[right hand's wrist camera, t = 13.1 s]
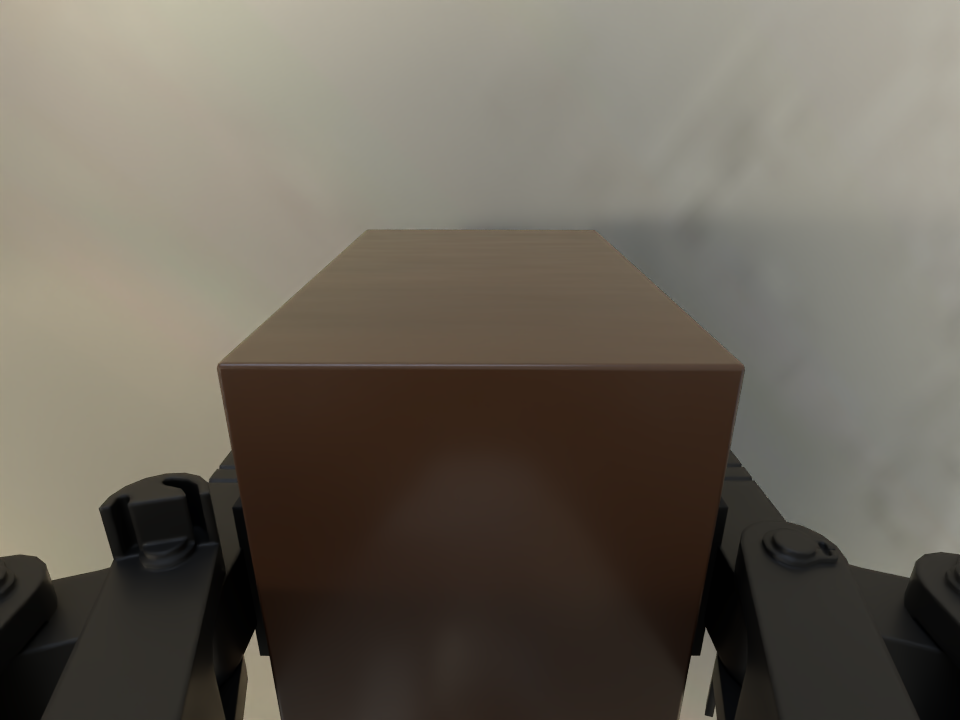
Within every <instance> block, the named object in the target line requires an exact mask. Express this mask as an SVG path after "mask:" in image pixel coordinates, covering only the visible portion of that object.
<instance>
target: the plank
mask: <svg viewBox="0 0 960 720" xmlns="http://www.w3.org/2000/svg"><path fill="white" fill-rule="evenodd" d="M217 371H218V377H219V382H220V388H221V393H222V399H223V404H224V410H225V415H226V421H227V426H228V432H229V437H230V443H231V448H232V454H233V459H234V464H235V470H236V475H237V481H238V486H239V492H240V497H241V503H242V508H243V514H244V519H245V525H246V530H247V536H248V541H249V546H250V552H251V557H252V563H253V568H254V574H255V579H256V585H257V590H258V596H259V601H260V607H261V612H262V618H263V623H264V629H265V634H266V639H267V645H268V650H269V656H270V661H271V667H272V672H273V678H274V683H275V689H276V694H277V700H278V705H279V711H280V716H281V720H679V717H680V711H681V706H682V701H683V695H684V690H685V685H686V679H687V674H688V669H689V664H690V658H691V653H692V648H693V642H694V637H695V632H696V626H697V621H698V616H699V610H700V605H701V600H702V595H703V589H704V584H705V579H706V573H707V568H708V563H709V557H710V552H711V547H712V542H713V536H714V531H715V526H716V520H717V515H718V510H719V504H720V499H721V494H722V488H723V483H724V478H725V473H726V467H727V462H728V457H729V451H730V446H731V441H732V435H733V430H734V425H735V419H736V414H737V409H738V404H739V398H740V393H741V388H742V382H743V377H744V372H745V368H744V365H743V364H742V363H741V362H740V361H739V360H738V359H737V358H735V357H734V356H733V355H732V354H731V353H730V352H729V351H728V350H727V349H726V348H724V347H723V346H722V345H721V344H720V343H719V342H718V341H717V340H716V339H714V338H713V337H712V336H711V335H710V334H709V333H708V332H707V331H706V330H705V329H703V328H702V327H701V326H700V325H699V324H698V323H697V322H696V321H695V320H694V319H692V318H691V317H690V316H689V315H688V314H687V313H686V312H685V311H684V310H683V309H681V308H680V307H679V306H678V305H677V304H676V303H675V302H674V301H673V300H672V299H670V298H669V297H668V296H667V295H666V294H665V293H664V292H663V291H662V290H660V289H659V288H658V287H657V286H656V285H655V284H654V283H653V282H652V281H651V280H649V279H648V278H647V277H646V276H645V275H644V274H643V273H642V272H641V271H640V270H638V269H637V268H636V267H635V266H634V265H633V264H632V263H631V262H630V261H629V260H627V259H626V258H625V257H624V256H623V255H622V254H621V253H620V252H619V251H618V250H616V249H615V248H614V247H613V246H612V245H611V244H610V243H609V242H608V241H607V240H605V239H604V238H603V237H602V236H601V235H600V234H599V233H598V232H597V231H595V230H366V231H365V232H364V233H363V234H362V235H361V236H359V237H358V238H357V239H356V240H355V241H354V242H353V243H352V244H351V245H349V246H348V247H347V248H346V249H345V250H344V251H343V252H342V253H341V254H339V255H338V256H337V257H336V258H335V259H334V260H333V261H332V262H331V263H329V264H328V265H327V266H326V267H325V268H324V269H323V270H322V271H321V272H319V273H318V274H317V275H316V276H315V277H314V278H313V279H312V280H311V281H309V282H308V283H307V284H306V285H305V286H304V287H303V288H302V289H301V290H299V291H298V292H297V293H296V294H295V295H294V296H293V297H292V298H291V299H289V300H288V301H287V302H286V303H285V304H284V305H283V306H282V307H281V308H279V309H278V310H277V311H276V312H275V313H274V314H273V315H272V316H271V317H269V318H268V319H267V320H266V321H265V322H264V323H263V324H262V325H261V326H259V327H258V328H257V329H256V330H255V331H254V332H253V333H252V334H251V335H249V336H248V337H247V338H246V339H245V340H244V341H243V342H242V343H241V344H239V345H238V346H237V347H236V348H235V349H234V350H233V351H232V352H231V353H229V354H228V355H227V356H226V357H225V358H224V359H223V360H222V361H221V362H219V363H218V366H217Z"/></svg>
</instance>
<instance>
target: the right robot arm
mask: <svg viewBox="0 0 960 720" xmlns="http://www.w3.org/2000/svg"><path fill="white" fill-rule="evenodd" d="M99 511H100V514H101V517H102V521H103V524H104V528H105V531H106V534H107V538H108V541H109V544H110V548H111V551H112V555H113V558H114V560H113V563H112V565H111V567H110V568H106V569H103V570H99V571H94V572H90V573H85V574H80V575H75V576H71V577H66V578H61V579H56V580H52V581H51V578H50V575H49V572H48V569H47V567H46V564H45V563H44V562H43V561H41V560H40V559H39V558H37V557H34V556H27V555H14V556H6V557H0V720H243V715H244V707H245V698H246V689H247V681H248V677H247V670H246V664H245V659H244V653H245V650H246V648H247V646H248V644H249V642H250V639H251V637H252V635H253V633H254V630H256V635H257V641H258V646H259V651H260V656H269V650H268V645H267V639H266V634H265V629H264V623H263V618H262V612H261V607H260V601H259V596H258V590H257V585H256V579H255V574H254V568H253V563H252V557H251V552H250V546H249V541H248V536H247V530H246V525H245V519H244V514H243V508H242V503H241V497H240V492H239V486H238V481H237V475H236V470H235V464H234V459H233V454H232V451H231V452H230V453H229V454H228V456H227V457H226V458H225V460H224V461H223V462H222V463H221V465H220V468H219V469H217V470H216V471H215V473H214V474H213V475H212V476H211V478H210V479H209V483H208V482H206V481H205V480H204V479H203V478H201V477H200V476H197V475H192V474H188V473H170V474H162V475H158V476H153V477H149V478H145V479H143V480H140V481H138V482H135V483H132V484H130V485H127V486H125V487H124V488H122V489H121V490H119V491H117V492H116V493H114V494H113V495H111V496H110V497H109V498H108V499H107V500H106V501H105V502H104V503H103V504H102V505H101V507H100V508H99ZM705 627H706V629H707V631H708V633H709V635H710V637H711V640H712V642H713V644H714V646H715V648H716V651H717V654H716V659H715V664H714V669H713V674H712V679H711V684H710V688H709V693H708V698H707V703H706V710H705V715H706V716H711V717H713V713H714V709H715V705H716V714H717V720H960V555H959V554H952V553H944V552H938V553H931V554H925V555H923V556H922V557H921V558H920V559H918V560H917V561H916V563H915V565H914V568H913V571H912V574H911V577H910V578H907V577H902V576H897V575H893V574H888V573H883V572H878V571H874V570H869V569H864V568H860V567H856V566H853V565H849V564H848V562H847V559H846V558H845V557H844V555H843V554H842V553H841V551H840V550H839V549H838V547H837V546H836V545H835V544H833V543H832V542H830V541H829V540H828V539H826V538H825V537H824V536H822V535H821V534H819V533H817V532H814V531H812V530H810V529H808V528H806V527H804V526H801V525H797V524H793V523H789V522H786V521H785V519H784V518H783V517H782V516H781V514H780V513H779V512H778V510H777V509H776V508H775V507H774V505H773V504H772V503H771V501H770V500H769V499H768V498H767V496H766V495H765V494H764V492H763V491H762V490H761V489H760V487H759V486H758V485H757V483H756V482H755V481H752V477H751V476H750V474H749V473H748V472H747V471H746V469H745V468H744V467H742V466H741V463H740V462H739V460H738V459H737V458H736V456H735V455H734V454H733V453H732V451H731V450H730V451H729V457H728V462H727V467H726V473H725V478H724V483H723V488H722V494H721V499H720V504H719V510H718V515H717V520H716V526H715V531H714V536H713V542H712V547H711V552H710V557H709V563H708V568H707V573H706V579H705V584H704V589H703V595H702V600H701V605H700V610H699V616H698V621H697V626H696V632H695V637H694V642H693V648H692V653H691V656H700V654H701V648H702V643H703V638H704V633H705Z"/></svg>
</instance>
